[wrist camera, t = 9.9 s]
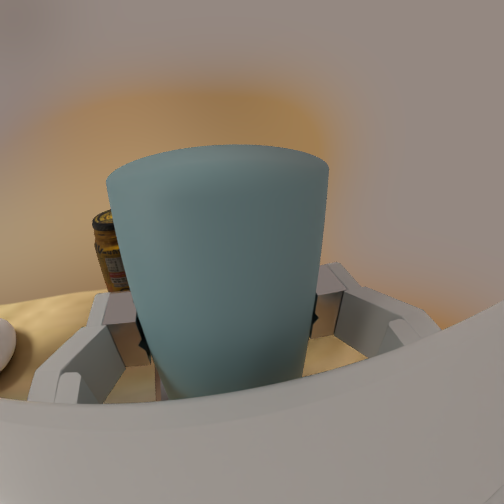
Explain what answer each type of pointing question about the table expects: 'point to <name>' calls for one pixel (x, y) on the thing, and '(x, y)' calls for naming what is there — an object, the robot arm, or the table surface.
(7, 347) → the flower in vase
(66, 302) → the table surface
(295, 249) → the column
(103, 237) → the condiment
